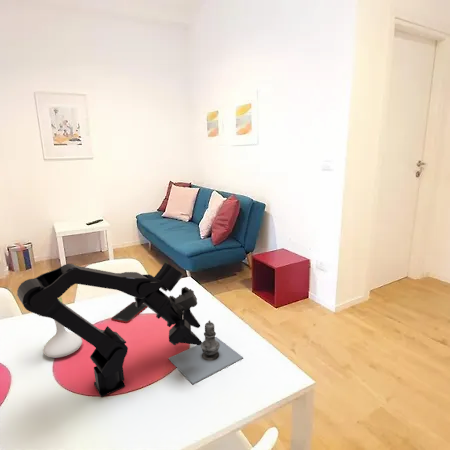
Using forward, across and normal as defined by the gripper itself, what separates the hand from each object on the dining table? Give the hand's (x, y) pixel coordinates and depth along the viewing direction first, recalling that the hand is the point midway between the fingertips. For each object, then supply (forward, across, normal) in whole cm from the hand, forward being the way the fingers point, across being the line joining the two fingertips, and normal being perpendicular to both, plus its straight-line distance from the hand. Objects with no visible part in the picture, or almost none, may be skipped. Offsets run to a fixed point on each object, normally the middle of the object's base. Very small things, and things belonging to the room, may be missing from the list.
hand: (200, 335), depth 99 cm
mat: (+7, -1, +4) cm, 8 cm away
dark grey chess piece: (+8, 0, +3) cm, 8 cm away
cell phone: (-12, +32, +24) cm, 42 cm away
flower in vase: (-25, +10, +37) cm, 46 cm away
